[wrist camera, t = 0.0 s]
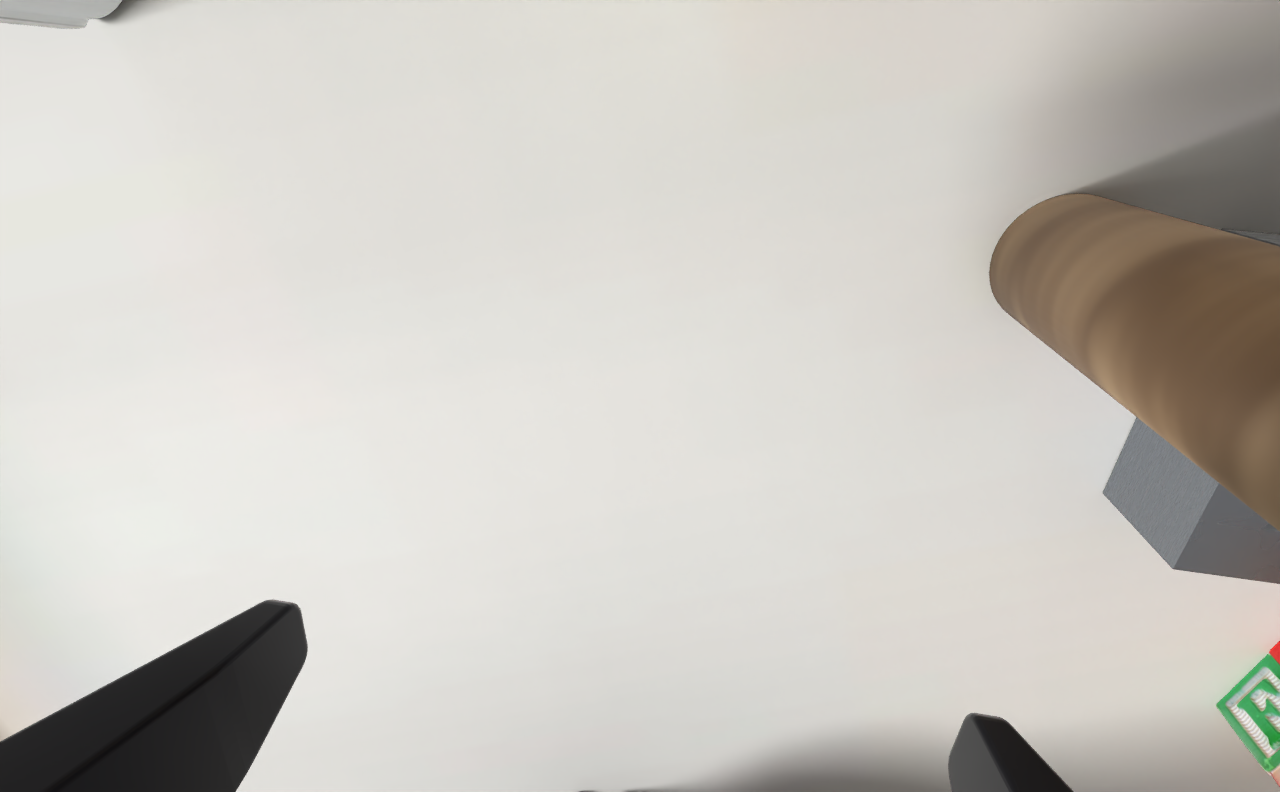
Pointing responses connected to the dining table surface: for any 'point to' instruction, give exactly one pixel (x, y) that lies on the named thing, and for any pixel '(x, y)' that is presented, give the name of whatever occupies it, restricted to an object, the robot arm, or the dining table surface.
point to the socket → (1191, 505)
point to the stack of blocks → (1258, 712)
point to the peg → (1159, 326)
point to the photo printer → (55, 12)
